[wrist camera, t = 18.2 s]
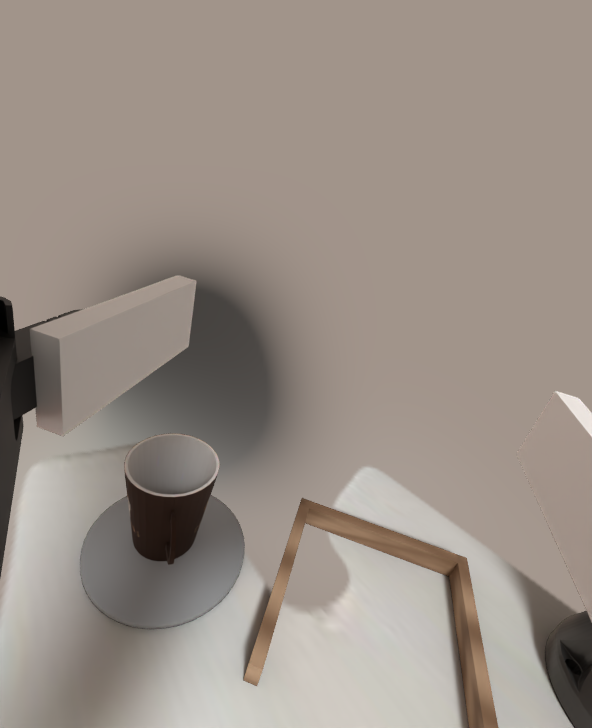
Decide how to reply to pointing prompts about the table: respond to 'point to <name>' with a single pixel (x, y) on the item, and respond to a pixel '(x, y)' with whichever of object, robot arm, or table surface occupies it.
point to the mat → (160, 570)
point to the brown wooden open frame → (412, 551)
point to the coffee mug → (168, 493)
